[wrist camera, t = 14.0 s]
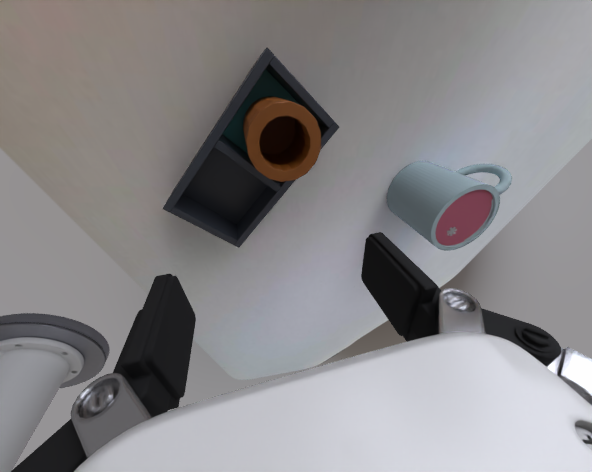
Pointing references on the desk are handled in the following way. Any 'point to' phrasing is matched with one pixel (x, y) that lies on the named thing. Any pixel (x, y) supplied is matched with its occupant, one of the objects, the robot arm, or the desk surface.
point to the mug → (446, 201)
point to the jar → (281, 138)
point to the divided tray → (239, 160)
